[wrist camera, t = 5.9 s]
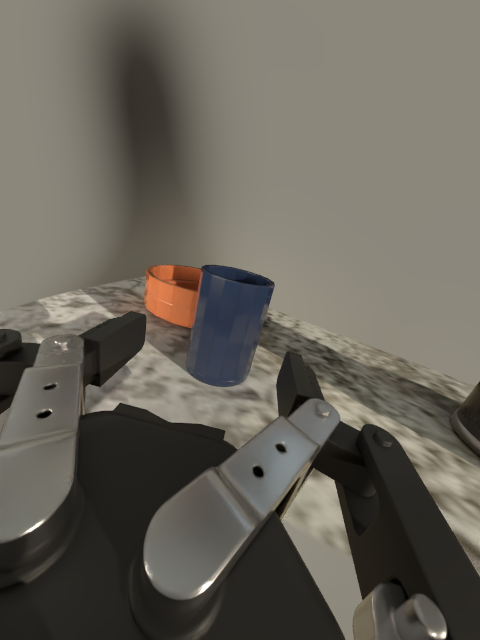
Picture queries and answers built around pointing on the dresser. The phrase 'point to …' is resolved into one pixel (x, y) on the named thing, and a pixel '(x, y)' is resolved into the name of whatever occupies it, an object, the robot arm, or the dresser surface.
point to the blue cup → (227, 324)
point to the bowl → (172, 292)
